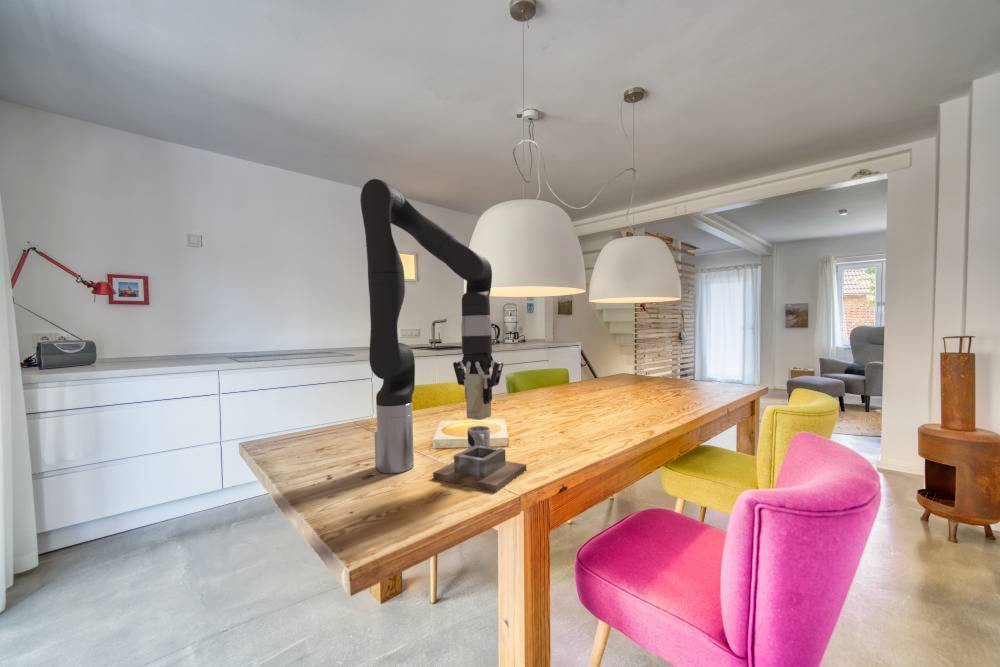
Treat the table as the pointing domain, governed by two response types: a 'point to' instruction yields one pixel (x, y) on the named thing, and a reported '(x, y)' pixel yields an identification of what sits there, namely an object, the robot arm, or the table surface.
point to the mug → (478, 436)
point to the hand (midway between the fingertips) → (478, 402)
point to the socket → (481, 469)
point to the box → (476, 398)
